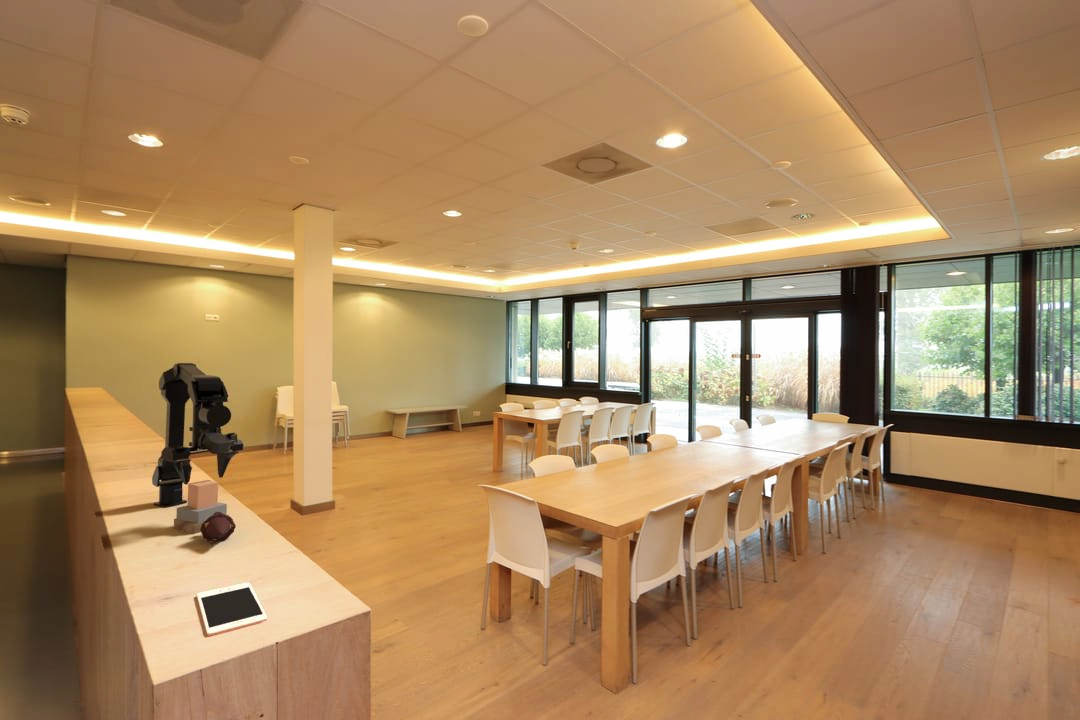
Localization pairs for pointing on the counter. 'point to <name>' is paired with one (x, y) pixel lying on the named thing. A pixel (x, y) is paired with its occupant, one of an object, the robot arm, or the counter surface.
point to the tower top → (199, 513)
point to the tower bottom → (188, 526)
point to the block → (202, 494)
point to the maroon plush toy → (217, 527)
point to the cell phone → (230, 608)
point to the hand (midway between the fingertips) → (203, 480)
